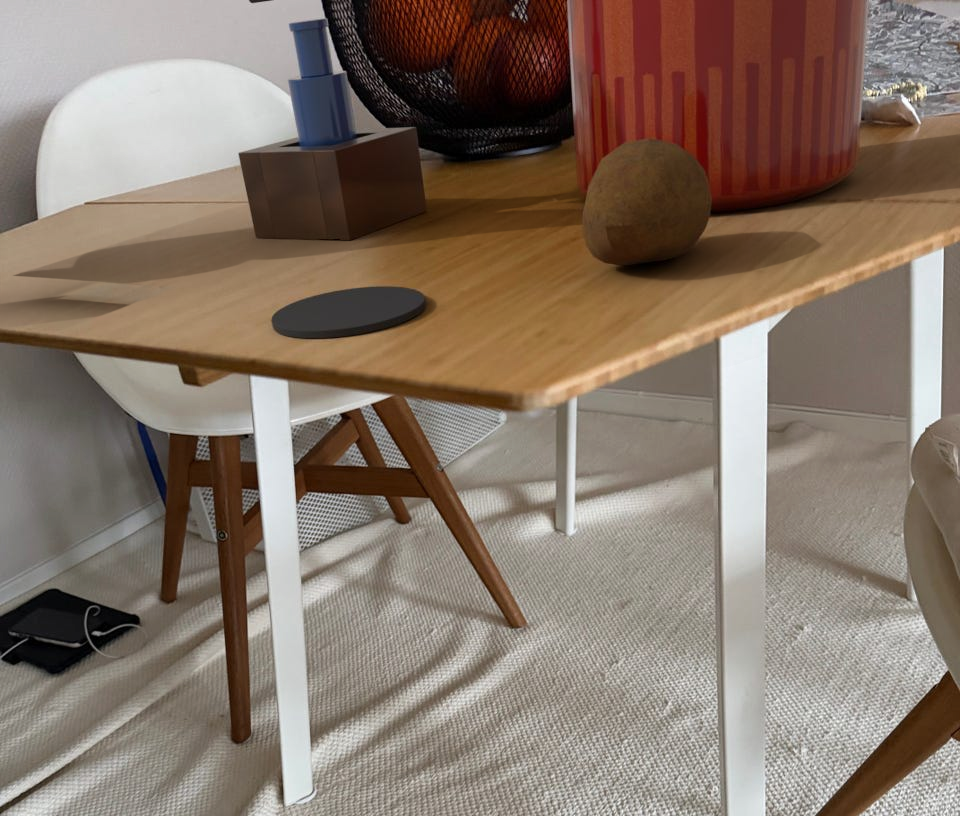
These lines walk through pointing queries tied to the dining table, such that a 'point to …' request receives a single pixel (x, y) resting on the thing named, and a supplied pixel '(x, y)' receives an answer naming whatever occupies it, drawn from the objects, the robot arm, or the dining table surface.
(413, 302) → the coaster
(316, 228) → the holder
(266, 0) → the robot arm
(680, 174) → the potato
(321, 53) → the bottle
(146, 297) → the dining table surface
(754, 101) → the planter
